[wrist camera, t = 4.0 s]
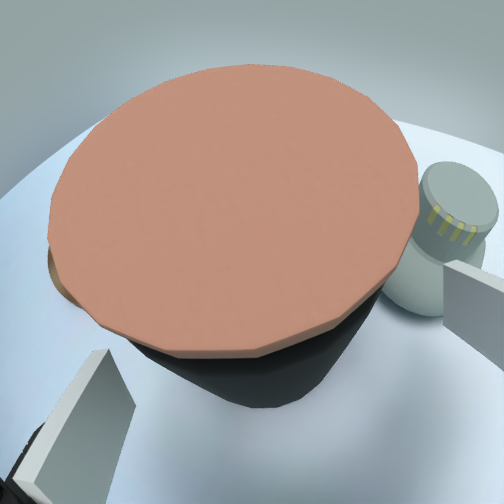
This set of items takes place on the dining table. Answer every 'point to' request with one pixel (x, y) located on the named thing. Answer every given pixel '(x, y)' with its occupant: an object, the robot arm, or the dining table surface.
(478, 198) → the air freshener
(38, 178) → the dining table surface
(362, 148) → the coffee jar
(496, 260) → the dining table surface
